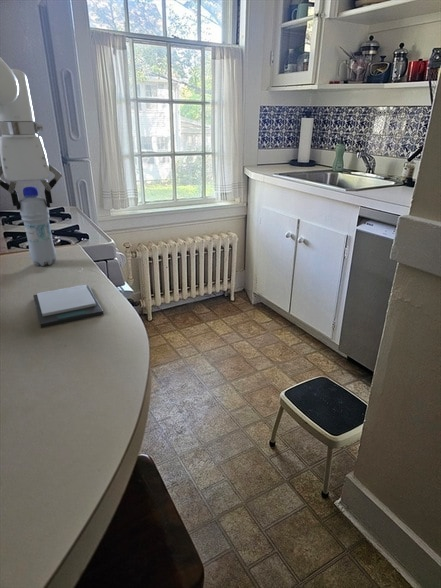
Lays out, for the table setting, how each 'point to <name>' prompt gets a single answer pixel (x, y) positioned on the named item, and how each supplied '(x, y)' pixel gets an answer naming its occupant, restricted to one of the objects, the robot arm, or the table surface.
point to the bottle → (37, 227)
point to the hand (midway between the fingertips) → (33, 206)
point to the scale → (66, 305)
